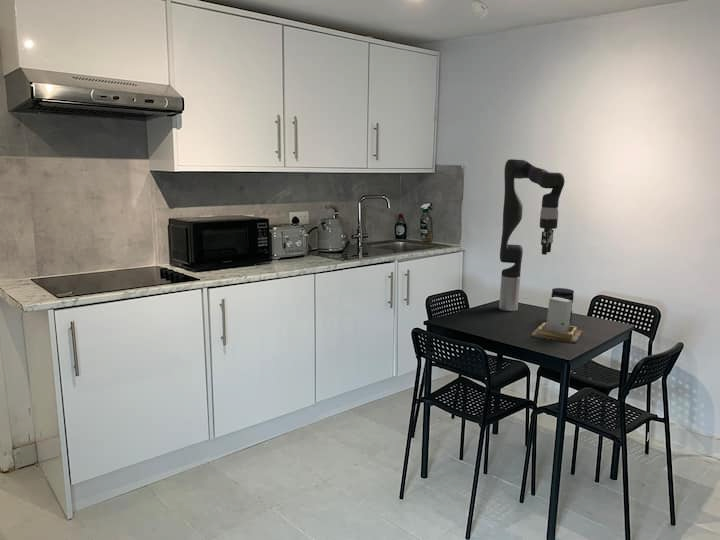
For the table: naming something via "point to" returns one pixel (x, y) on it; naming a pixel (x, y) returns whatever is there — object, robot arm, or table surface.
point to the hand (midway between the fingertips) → (546, 253)
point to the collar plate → (558, 334)
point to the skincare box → (558, 314)
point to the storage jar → (563, 295)
